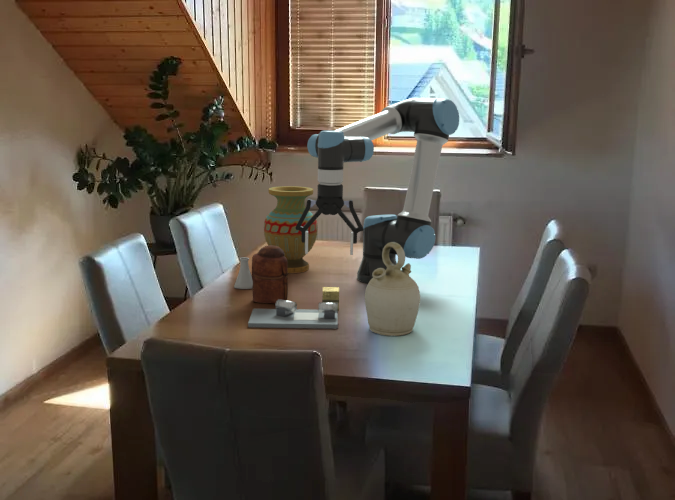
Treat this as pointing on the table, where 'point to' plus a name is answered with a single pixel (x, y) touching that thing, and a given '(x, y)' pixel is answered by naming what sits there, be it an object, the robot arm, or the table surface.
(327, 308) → the shaft
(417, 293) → the jug
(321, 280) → the table surface
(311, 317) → the base plate
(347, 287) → the table surface
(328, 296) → the block
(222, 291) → the table surface
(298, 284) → the table surface
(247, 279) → the flask
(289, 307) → the shaft
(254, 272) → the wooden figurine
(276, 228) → the vase
